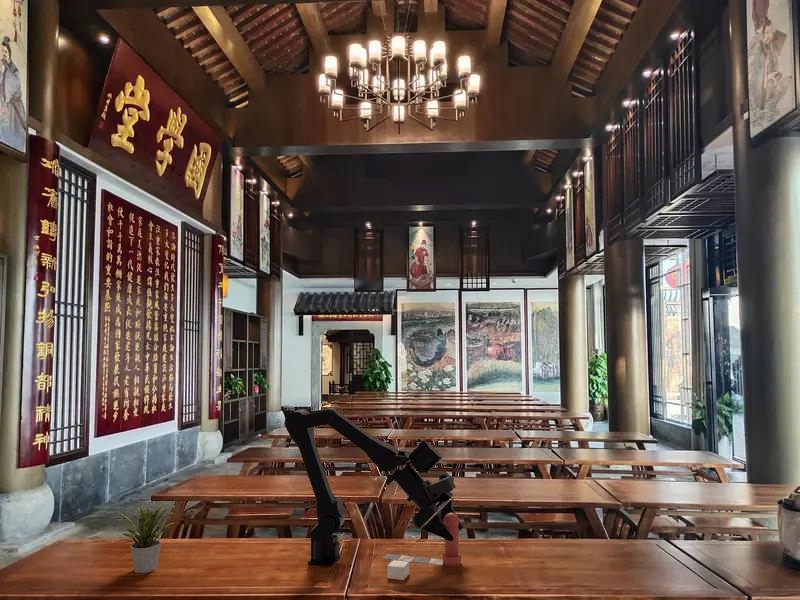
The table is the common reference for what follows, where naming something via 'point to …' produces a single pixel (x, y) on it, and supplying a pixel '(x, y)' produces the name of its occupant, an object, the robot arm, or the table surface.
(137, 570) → the house plant
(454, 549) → the pawn
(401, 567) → the white cube
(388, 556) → the track board
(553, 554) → the table surface
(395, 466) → the robot arm
